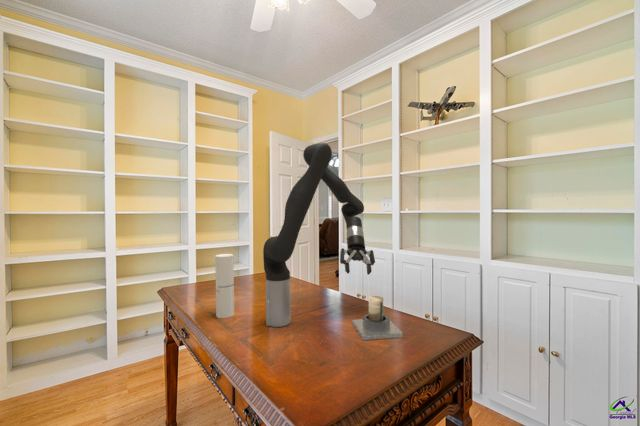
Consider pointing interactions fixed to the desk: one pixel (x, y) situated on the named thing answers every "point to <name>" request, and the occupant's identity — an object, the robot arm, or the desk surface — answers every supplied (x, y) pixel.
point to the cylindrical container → (224, 285)
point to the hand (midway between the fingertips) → (358, 273)
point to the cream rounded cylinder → (375, 308)
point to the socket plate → (376, 328)
